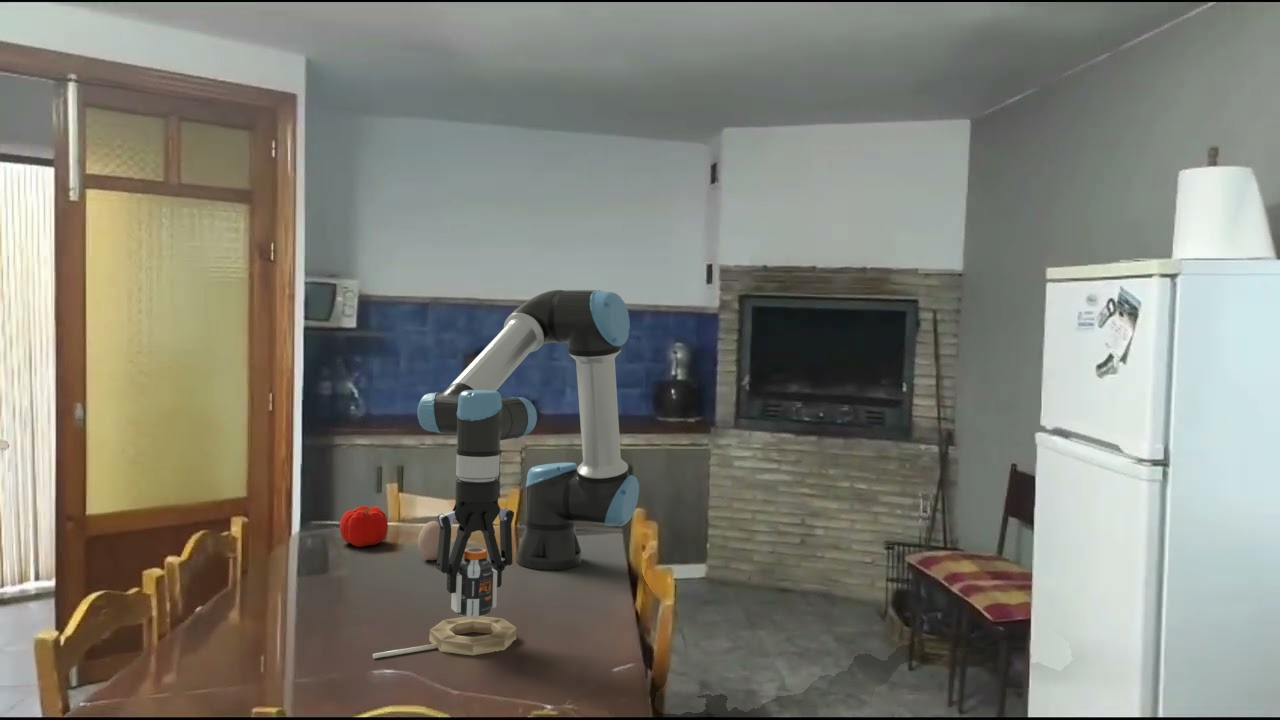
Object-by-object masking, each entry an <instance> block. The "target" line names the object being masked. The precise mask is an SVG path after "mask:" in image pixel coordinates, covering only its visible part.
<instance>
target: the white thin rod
mask: <svg viewBox="0 0 1280 720" xmlns="http://www.w3.org/2000/svg"><path fill="white" fill-rule="evenodd" d="M435 649H438V644H432V643H431V644H425V645H419V646H413V647H406V648H400V649H392V650H389V651H388V650H387V651H383V652H382V651H381V652H376V653H372V658H373V659H374V660H375V659H379V658H380V659H381V658H387V657H392V656H399V655H403V654H410V653H416V652H422V651H430V650H435Z"/></svg>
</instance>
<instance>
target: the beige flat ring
mask: <svg viewBox="0 0 1280 720" xmlns="http://www.w3.org/2000/svg"><path fill="white" fill-rule="evenodd" d="M517 629H518V628H517V627H516V626H514V625H513V624H512V623H510V622H508V621H507V620H506V619H505V618H502V617H501V618H500V617H492V616H491V617H490V616H480V617H465V616H462V617H461V616H460V617H454V618H448V619H443V620H441V621H440V622H439V623H437V624H436V625H435V626H433V627H432V628H430V629H429V642H430V643H431V644H438V648H437V649H438V650H439V651H440V652H441V653H450V654H459V655H467V656H478V655H482V654H489V653H494V652H495V651H496V652H500V650H501V651H505V650H507V648H508V647H510V645H512V644H513V643H512V642H513V641H514V640H515V641H516V640H517V632H518V631H517ZM469 633H477V634H478V633H480V634H485V635H480V636H467V635H466V636H465V634H469ZM462 634H464V635H462ZM515 641H514V642H515Z"/></svg>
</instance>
